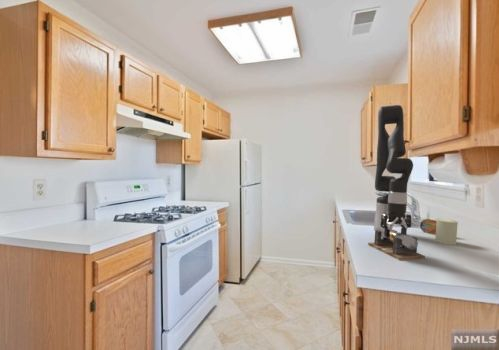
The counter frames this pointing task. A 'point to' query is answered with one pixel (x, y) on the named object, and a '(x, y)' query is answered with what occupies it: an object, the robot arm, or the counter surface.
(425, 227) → the tin
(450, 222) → the can
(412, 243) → the tube
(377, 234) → the cradle stand
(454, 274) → the counter surface
